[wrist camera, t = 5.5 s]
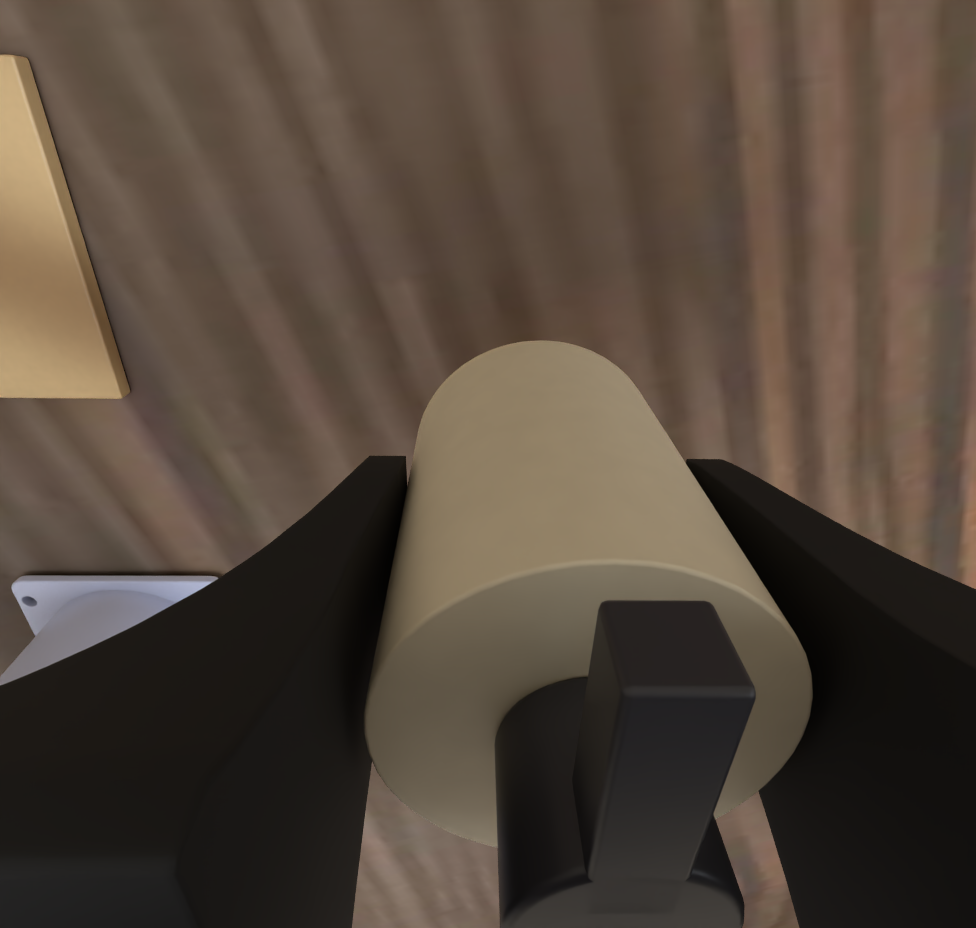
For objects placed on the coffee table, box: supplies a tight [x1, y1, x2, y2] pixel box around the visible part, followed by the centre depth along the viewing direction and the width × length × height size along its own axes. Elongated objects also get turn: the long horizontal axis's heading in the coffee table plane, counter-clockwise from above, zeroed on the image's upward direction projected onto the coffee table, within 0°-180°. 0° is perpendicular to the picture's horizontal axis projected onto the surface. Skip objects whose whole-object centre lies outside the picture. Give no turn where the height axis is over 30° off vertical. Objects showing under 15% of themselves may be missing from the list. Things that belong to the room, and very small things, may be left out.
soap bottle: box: [364, 340, 813, 928], centre depth 8 cm, size 5×5×8 cm
